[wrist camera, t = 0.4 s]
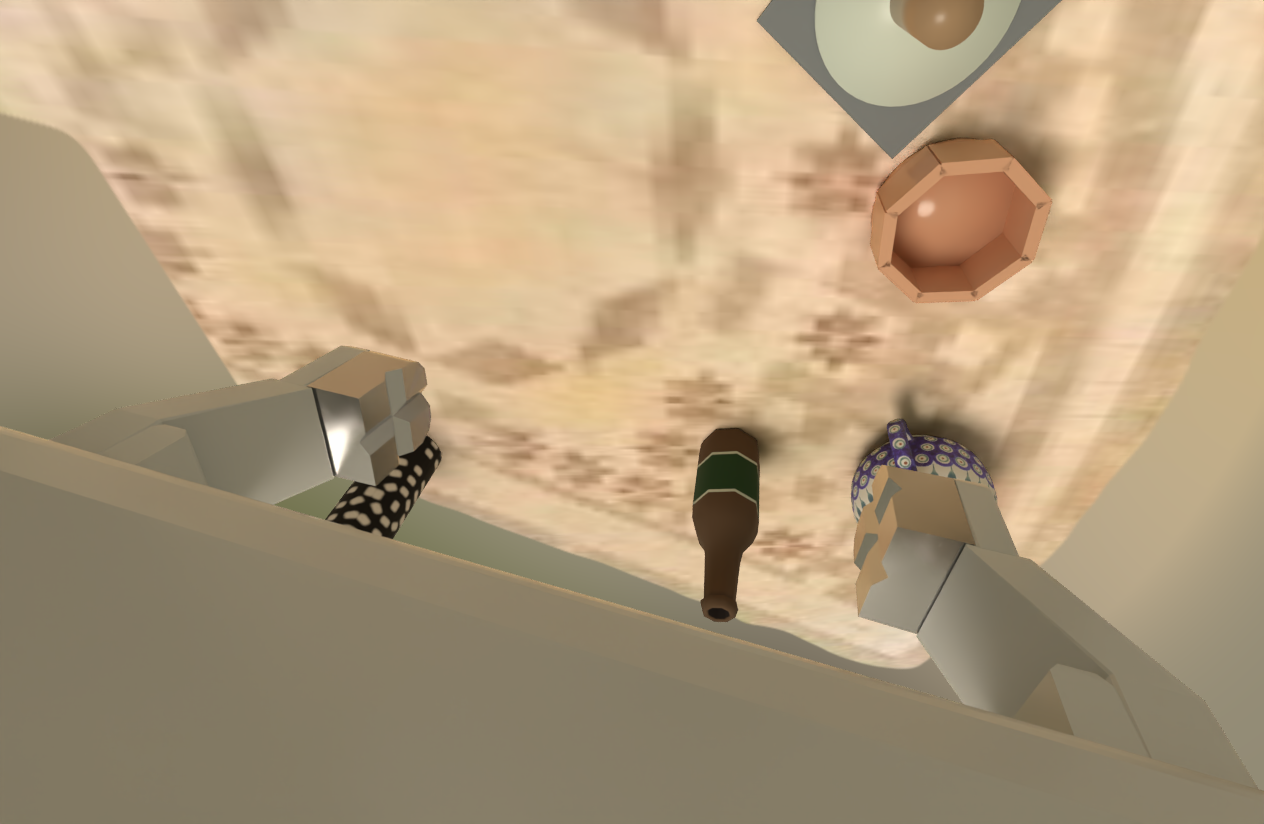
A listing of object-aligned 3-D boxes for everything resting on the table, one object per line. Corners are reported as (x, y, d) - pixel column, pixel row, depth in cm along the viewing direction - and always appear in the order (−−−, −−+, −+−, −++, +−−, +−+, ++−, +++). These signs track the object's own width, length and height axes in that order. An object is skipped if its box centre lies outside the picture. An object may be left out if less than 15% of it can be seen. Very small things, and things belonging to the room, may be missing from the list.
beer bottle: (708, 419, 72) (688, 583, 54) (769, 433, 72) (769, 603, 54) (694, 461, 77) (671, 624, 59) (751, 475, 77) (746, 643, 59)
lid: (940, -194, 36) (991, -231, 28) (1068, -25, 40) (1146, -13, 32) (775, 18, 44) (777, 38, 36) (894, 141, 48) (920, 185, 40)
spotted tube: (410, 472, 90) (338, 582, 74) (376, 434, 85) (292, 542, 70) (452, 463, 86) (385, 576, 71) (418, 422, 82) (340, 533, 67)
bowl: (963, 105, 46) (984, 124, 42) (1050, 202, 50) (1078, 229, 45) (843, 216, 53) (849, 242, 49) (925, 294, 57) (939, 326, 52)
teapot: (823, 402, 67) (834, 495, 56) (966, 369, 61) (1009, 466, 50) (869, 537, 80) (885, 634, 69) (990, 521, 74) (1029, 624, 63)
